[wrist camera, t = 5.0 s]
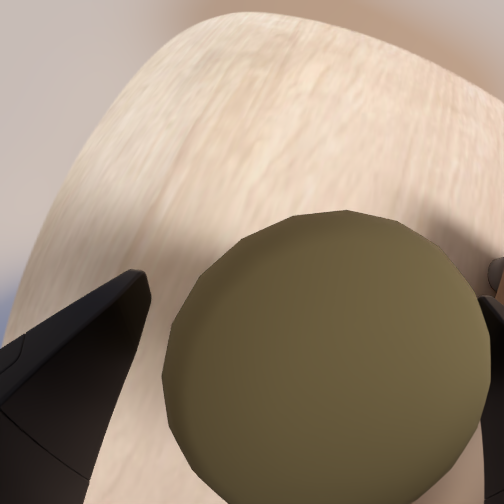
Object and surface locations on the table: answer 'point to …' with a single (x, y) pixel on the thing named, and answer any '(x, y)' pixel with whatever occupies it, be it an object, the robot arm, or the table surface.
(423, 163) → the table surface
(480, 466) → the small wooden stand
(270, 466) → the olive pepper shaker
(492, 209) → the table surface
